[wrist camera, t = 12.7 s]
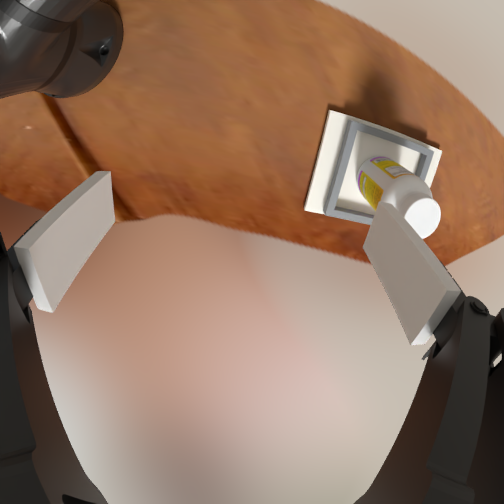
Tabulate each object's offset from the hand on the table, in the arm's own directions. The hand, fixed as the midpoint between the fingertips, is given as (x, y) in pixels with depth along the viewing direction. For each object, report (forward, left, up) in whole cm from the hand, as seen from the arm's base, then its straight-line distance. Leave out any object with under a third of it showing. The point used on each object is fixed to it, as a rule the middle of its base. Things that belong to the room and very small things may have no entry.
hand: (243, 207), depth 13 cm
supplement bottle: (+11, +14, -24) cm, 30 cm away
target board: (+11, +14, -24) cm, 30 cm away
